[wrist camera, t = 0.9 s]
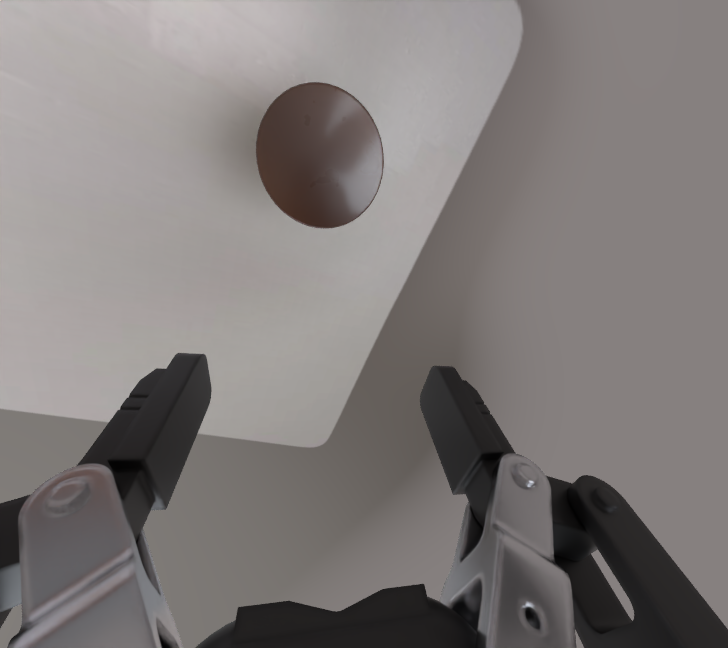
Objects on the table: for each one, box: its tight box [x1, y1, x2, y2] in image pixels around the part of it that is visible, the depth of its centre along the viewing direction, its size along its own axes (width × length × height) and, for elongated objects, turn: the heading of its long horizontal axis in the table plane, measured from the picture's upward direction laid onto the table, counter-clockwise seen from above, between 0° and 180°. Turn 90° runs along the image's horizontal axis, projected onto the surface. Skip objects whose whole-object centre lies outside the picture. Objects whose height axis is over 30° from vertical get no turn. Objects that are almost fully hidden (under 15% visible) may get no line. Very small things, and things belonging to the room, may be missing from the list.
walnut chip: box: [256, 82, 384, 228], centre depth 14 cm, size 6×6×2 cm
